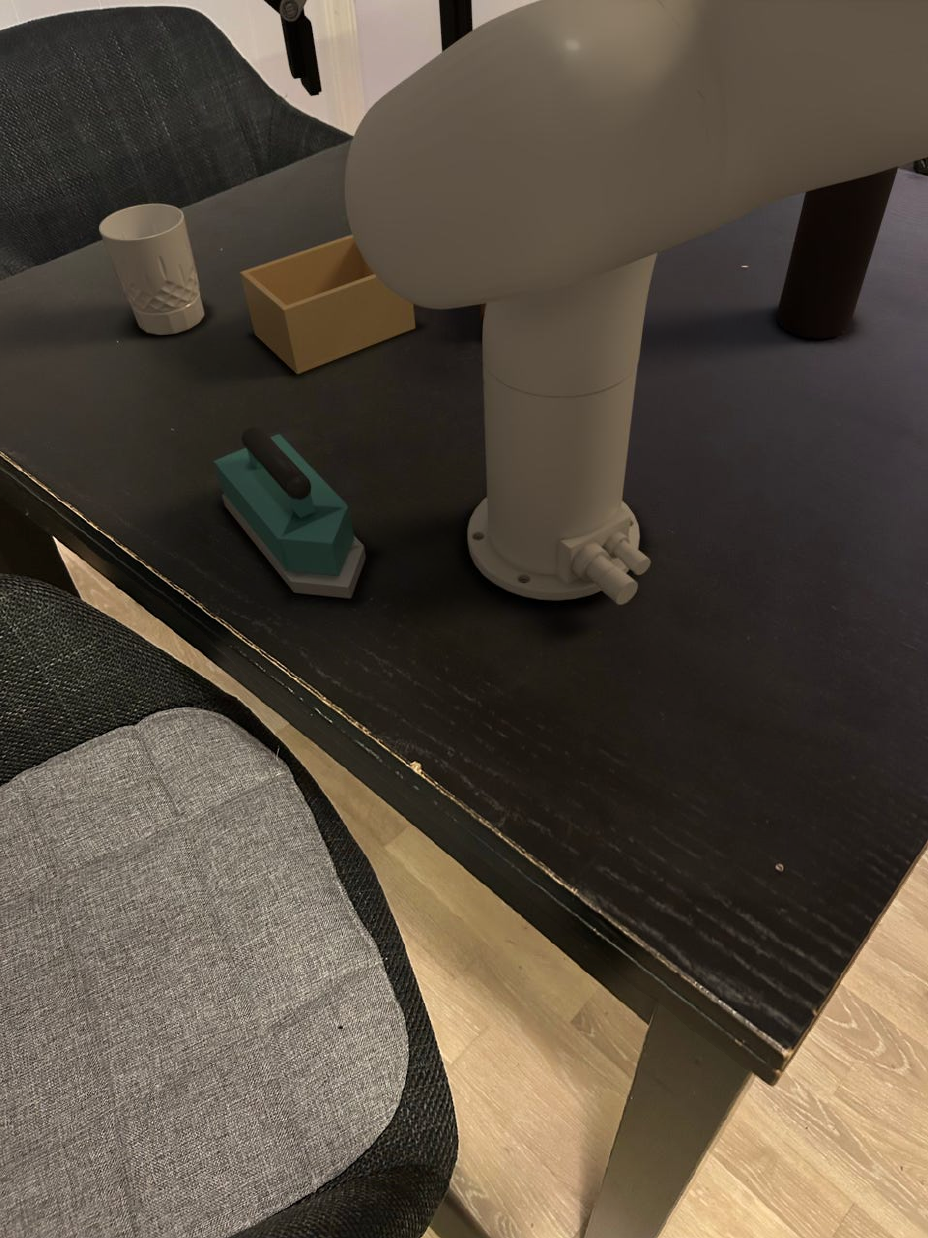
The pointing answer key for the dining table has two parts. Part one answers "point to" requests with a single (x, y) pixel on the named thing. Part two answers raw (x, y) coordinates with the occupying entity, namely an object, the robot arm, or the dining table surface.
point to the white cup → (155, 266)
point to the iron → (291, 515)
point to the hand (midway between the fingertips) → (384, 76)
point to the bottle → (832, 254)
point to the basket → (322, 305)
